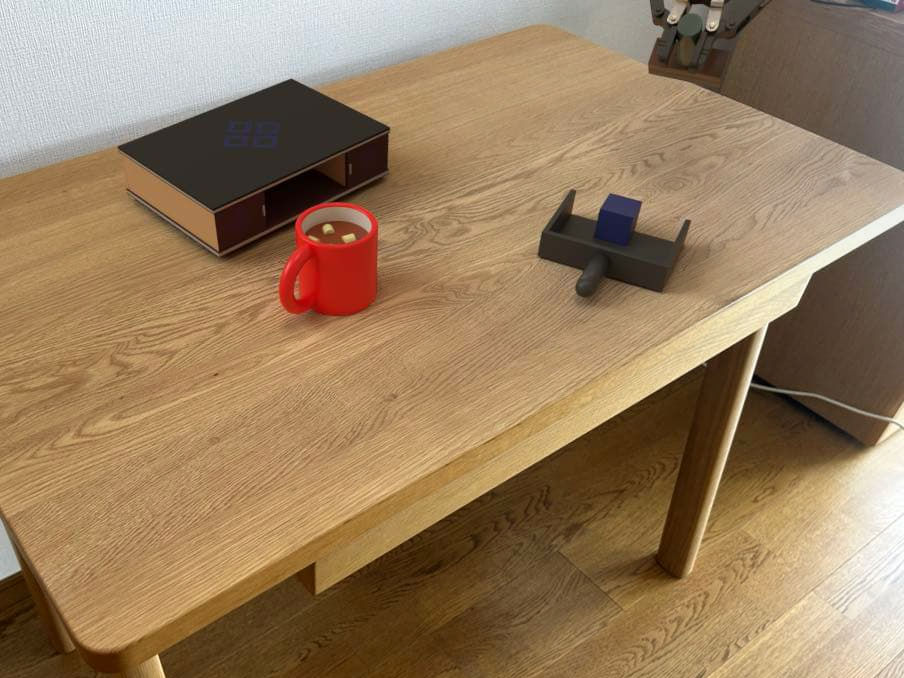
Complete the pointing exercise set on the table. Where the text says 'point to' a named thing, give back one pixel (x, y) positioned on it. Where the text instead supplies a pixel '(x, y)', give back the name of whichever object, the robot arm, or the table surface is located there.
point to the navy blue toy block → (617, 219)
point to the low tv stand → (254, 164)
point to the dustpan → (607, 251)
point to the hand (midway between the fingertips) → (677, 67)
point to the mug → (332, 261)
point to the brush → (690, 56)
